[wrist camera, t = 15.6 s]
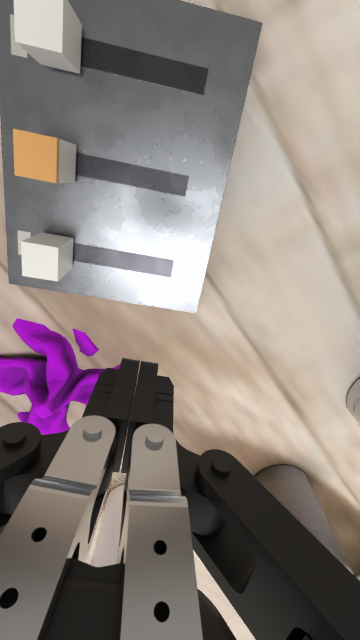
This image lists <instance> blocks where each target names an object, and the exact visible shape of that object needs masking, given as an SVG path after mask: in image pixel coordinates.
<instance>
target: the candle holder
mask: <svg viewBox="0 0 360 640" xmlns="http://www.w3.org/2000/svg"><path fill="white" fill-rule="evenodd" d="M124 485H125V484H124ZM124 485H121V486H118V487H116V488H115V489H113V490H112V491H111V492H110V494H109V495H108V498H107V501H106V505H105V508H104V512H103V516H102V520H101V524H100V528H99V532H98V536H97V540H96V544H95V548H94V552H93V556H92V560H91V564H90V565H91V566H94V567H103V566H109V565H114V564H116V560H117V551H118V540H119V529H120V518H121V507H122V497H123V491H124Z"/></svg>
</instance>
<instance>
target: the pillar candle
mask: <svg viewBox="0 0 360 640" xmlns="http://www.w3.org/2000/svg"><path fill="white" fill-rule="evenodd" d="M255 478H256V479H257V480H258V481H259V482H260V483H261V484H262V485H263V486H264V487H265V488H266V489H267V490H268V491H269V492H270V493H271V494H272V495H273V496H274V497H275V498H276V499H277V500H278V501H279V502H280V503H281V504H282V505H283V506H284V507H285V508H286V509H287V510H288V511H289V512H290V513H291V514H292V515H293V516H294V517H295V518H296V519H297V520H298V521H299V522H300V523H301V524H302V525H303V526H305V527H306V528H307V529H308V530H309V531H310V532H311V533H312V534H313V535H314V536H315V537H316V538H317V539H318V540H319V541H320V542H321V543H322V544H323V545H324V546H325V547H326V548H327V549H328V550H329V551H330V552H331V553H332V554H333V555H334V556H335V557H336V558H337V559H338V560H339V561H340V562H341V563H342V564H343V565H344V566H345V567H346V568H347V569H348V570H349V571H350V572H351V573H352V574H354V573H353V572H352V570H351V568H350V566H349V564H348V562H347V560H346V558H345V556H344V554H343V552H342V550H341V547H340V545H339V543H338V541H337V539H336V537H335V535H334V533H333V531H332V529H331V527H330V524H329V522H328V520H327V518H326V516H325V514H324V512H323V510H322V508H321V505H320V503H319V501H318V499H317V497H316V495H315V493H314V491H313V489H312V487H311V485H310V483H309V481H308V478H307V476H306V475H305V473H304V472H302V471H301V470H299V469H298V468H296V467H294V466H290V465H276V466H272V467H269V468H267V469H264V470H263V471H261V472H260V473H258V474H257V475H256V476H255Z"/></svg>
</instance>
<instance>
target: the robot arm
mask: <svg viewBox="0 0 360 640" xmlns="http://www.w3.org/2000/svg"><path fill="white" fill-rule="evenodd" d="M139 363H140V361H139V360H132V359H126V358H122V361H121V365H120V368H119V370H118V369H112V368H107V369H106V370H104V371H103V372H102V373H100V374H99V377H98V379H97V382H96V384H95V387H94V389H93V391H92V394H91V396H90V399H89V401H88V404H87V406H86V409H85V411H84V413H83V416H82V418H80V419H78V420H77V421H76V422H75V423H74V424H73V425H72V426H71V428H70V429H69V430H67V431H64V432H60V433H54V434H46V435H41V432H40V430H39V429H38V428H37V427H36V426H34V425H33V424H30V423H25V422H16V423H11V424H7V425H5V426H2V427H0V640H236V638H235V636H234V635H233V633H232V632H231V630H230V628H229V627H228V625H227V623H226V622H225V620H224V619H223V617H222V616H221V614H220V613H219V611H218V610H217V608H216V607H215V606H214V605H213V603H212V602H211V601H210V600H209V599H208V598H207V597H206V596H205V595H204V594H203V593H202V592H201V591H200V590H198V589H197V582H196V573H195V564H194V555H193V550H194V551H195V552H196V554H197V555H198V557H199V558H200V560H201V561H202V563H203V564H204V565H205V567H206V568H207V570H208V571H209V573H210V574H211V576H212V577H213V578H214V580H215V581H216V583H217V584H218V586H219V587H220V588H221V590H222V591H223V593H224V594H225V596H226V597H227V599H228V600H229V601H230V603H231V604H232V606H233V607H234V609H235V610H236V611H237V613H238V614H239V616H240V617H241V619H242V620H243V622H244V623H245V624H246V626H247V627H248V629H249V630H250V632H251V633H252V634H253V636H254V637H255V639H256V640H360V581H359V580H358V579H357V578H356V577H355V576H354V575H353V574H352V573H351V572H350V571H349V570H348V569H347V568H346V567H345V566H344V565H343V564H342V563H341V562H340V561H339V560H338V559H337V558H336V557H335V556H334V555H333V554H332V553H331V552H330V551H329V550H328V549H327V548H326V547H325V546H324V545H323V544H322V543H321V542H320V541H319V540H318V539H317V538H316V537H315V536H314V535H313V534H312V533H311V532H310V531H309V530H308V529H307V528H306V527H305V526H303V525H302V524H301V523H300V522H299V521H298V520H297V519H296V518H295V517H294V516H293V515H292V514H291V513H290V512H289V511H288V510H287V509H286V508H285V507H284V506H283V505H282V504H281V503H280V502H279V501H278V500H277V499H276V498H275V497H274V496H273V495H272V494H271V493H270V492H269V491H268V490H267V489H266V488H265V487H264V486H263V485H262V484H261V483H260V482H259V481H258V480H257V479H256V478H255V477H254V476H253V475H252V474H251V473H250V472H249V471H248V470H247V469H246V468H245V467H244V466H243V465H242V464H241V463H240V462H239V461H238V460H237V459H236V458H234V457H233V456H232V455H231V454H229V453H227V452H225V451H222V450H216V449H213V450H208V451H205V452H204V453H203V454H202V455H201V456H200V455H197V454H195V453H193V452H190V451H188V450H186V449H185V448H183V447H182V446H181V445H180V444H179V443H178V442H177V440H176V439H175V436H174V434H173V394H174V385H173V384H172V382H171V380H170V378H169V377H164V376H157V372H158V363H152V362H145V361H141V365H140V370H139ZM138 370H139V375H138ZM137 376H138V380H137ZM136 382H137V385H136ZM135 388H136V390H135ZM134 394H135V395H134ZM346 402H347V407H348V409H349V411H350V412H351V414H352V415H353V416H354V418H355V419H356V420H357V422H358V423H359V424H360V378H359V379H358V380H357V381H356V382H355V383H354V384H353V386H352V387H351V389H350V390H349V393H348V395H347V401H346ZM128 425H129V426H128ZM127 430H128V432H127ZM126 435H127V438H126ZM125 440H126V445H125ZM124 445H125V451H124V457H123V463H122V469H121V473H126V479H125V485H124V491H123V497H122V507H121V518H120V529H119V540H118V551H117V560H116V564H114V565H109V566H103V567H94V566H91V565H89V564H87V563H86V560H87V556H88V553H89V549H90V546H91V543H92V540H93V536H94V533H95V530H96V527H97V524H98V520H99V517H100V514H101V511H102V507H103V504H104V501H105V498H106V494H107V489H108V487H109V485H110V482H111V477H112V473H113V472H119V470H120V465H121V460H122V455H123V450H124Z"/></svg>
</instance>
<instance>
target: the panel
mask: <svg viewBox="0 0 360 640" xmlns="http://www.w3.org/2000/svg"><path fill="white" fill-rule="evenodd" d="M68 1H69V3H70V5H71V7H72V8H73V10H74V12H75V14H76V15H77V17H78V19H79V21H80V22H81V24H82V37H81V62H80V74H79V73H74V72H70V71H66V70H62V69H58V68H53V67H49V66H45V65H41V64H40V63H39V62H38V61H36V60H35V59H34V58H33V57H32V56H31V55H30V54H28V53H27V52H26V51H25V50H24V49H23V48H22V47H20V46H19V45H18V44H17V43H16V42H15V29H14V0H0V116H1V136H2V156H3V176H4V196H5V216H6V236H7V256H8V276H9V284H15V285H22V286H28V287H34V288H40V289H47V290H53V291H59V292H66V293H72V294H78V295H85V296H91V297H97V298H104V299H110V300H116V301H123V302H129V303H135V304H141V305H148V306H154V307H160V308H167V309H173V310H179V311H186V312H192V313H196V312H197V307H198V303H199V298H200V294H201V290H202V285H203V281H204V277H205V272H206V268H207V264H208V259H209V255H210V250H211V246H212V242H213V237H214V233H215V229H216V224H217V220H218V215H219V211H220V207H221V202H222V198H223V194H224V189H225V185H226V180H227V176H228V172H229V167H230V163H231V159H232V154H233V150H234V145H235V141H236V137H237V132H238V128H239V124H240V119H241V115H242V110H243V106H244V102H245V97H246V93H247V89H248V84H249V80H250V75H251V71H252V67H253V62H254V58H255V54H256V49H257V45H258V40H259V36H260V32H261V27H262V23H261V22H257V21H254V20H250V19H246V18H243V17H239V16H235V15H231V14H228V13H224V12H220V11H217V10H213V9H209V8H206V7H202V6H198V5H195V4H191V3H187V2H184V1H180V0H68ZM13 129H17V130H22V131H27V132H31V133H36V134H41V135H46V136H50V137H55V138H59V139H61V140H64V141H67V142H70V143H73V144H76V170H75V182H71V183H52V182H47V181H41V180H36V179H31V178H26V177H21V176H16V175H15V172H14V144H13ZM41 232H43V233H48V234H54V235H60V236H65V237H71V238H73V262H72V268H71V269H70V270H69V271H68V272H67V273H66V274H65V275H64V276H63V277H62V278H61V279H60V280H59V281H58V282H57V281H51V280H45V279H38V278H32V277H26V276H22V256H21V241H23V240H25V239H27V238H30V237H32V236H34V235H36V234H39V233H41Z"/></svg>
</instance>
